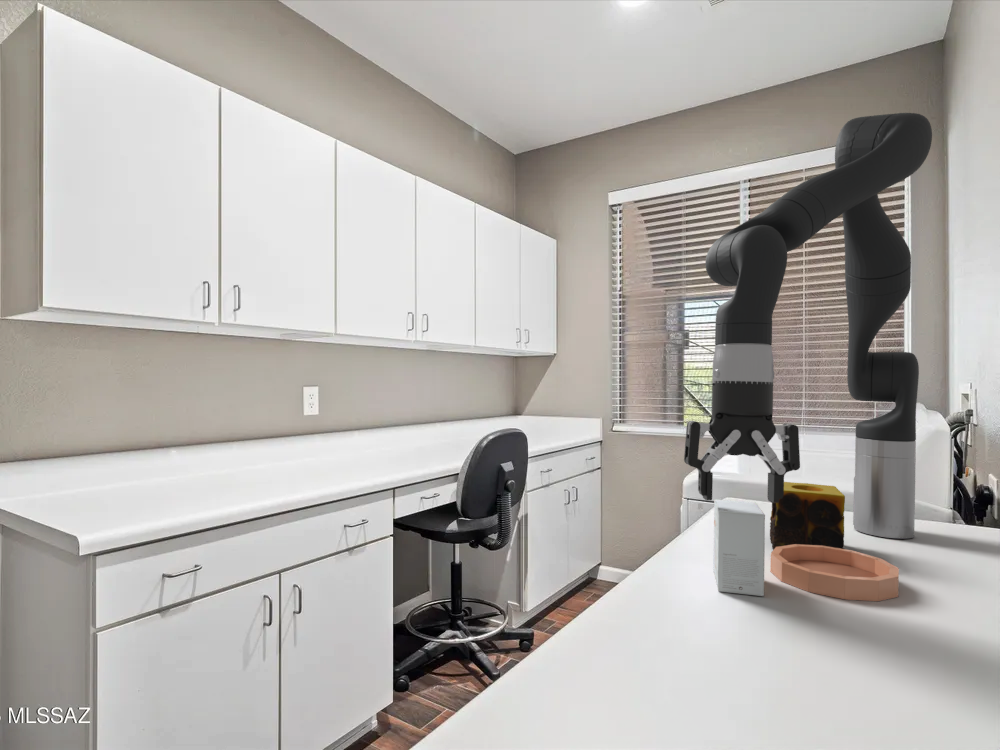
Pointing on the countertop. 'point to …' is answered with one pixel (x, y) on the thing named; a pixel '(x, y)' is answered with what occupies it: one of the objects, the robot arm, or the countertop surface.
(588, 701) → the countertop surface
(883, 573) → the round tray
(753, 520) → the small box
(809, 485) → the yellow and black cube
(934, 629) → the countertop surface
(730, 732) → the countertop surface
